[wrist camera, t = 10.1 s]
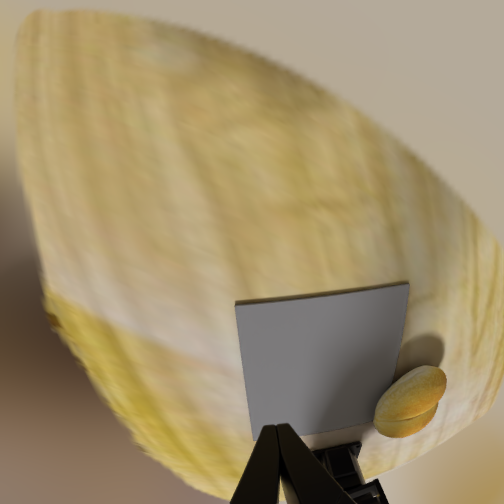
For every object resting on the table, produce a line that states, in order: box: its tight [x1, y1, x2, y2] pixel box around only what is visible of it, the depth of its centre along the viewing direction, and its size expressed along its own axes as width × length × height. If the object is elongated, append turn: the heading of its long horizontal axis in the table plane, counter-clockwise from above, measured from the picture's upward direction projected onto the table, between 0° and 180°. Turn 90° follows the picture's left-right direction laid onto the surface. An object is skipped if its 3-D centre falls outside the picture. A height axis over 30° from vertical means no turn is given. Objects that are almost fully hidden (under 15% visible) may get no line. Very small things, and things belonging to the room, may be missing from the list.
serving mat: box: [235, 283, 410, 441], centre depth 22 cm, size 16×14×1 cm
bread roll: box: [373, 365, 447, 438], centre depth 21 cm, size 8×9×4 cm
